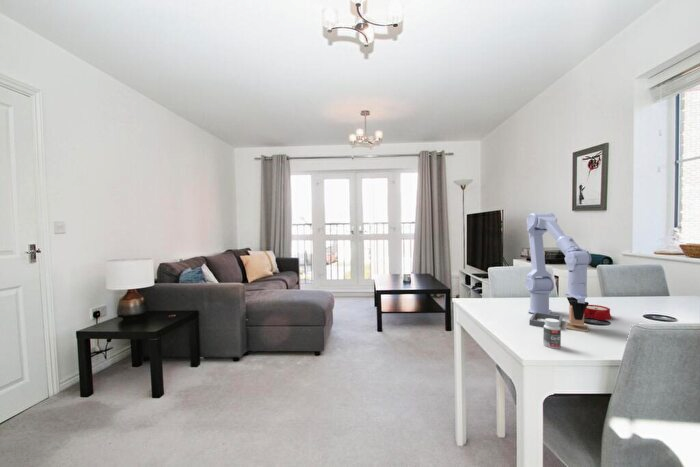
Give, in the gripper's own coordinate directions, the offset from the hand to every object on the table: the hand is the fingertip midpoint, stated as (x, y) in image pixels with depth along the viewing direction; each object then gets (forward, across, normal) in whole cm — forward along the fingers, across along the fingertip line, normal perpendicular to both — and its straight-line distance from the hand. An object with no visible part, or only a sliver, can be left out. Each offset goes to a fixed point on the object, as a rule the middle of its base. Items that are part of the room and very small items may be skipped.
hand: (577, 318), depth 122 cm
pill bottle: (+4, +25, -11) cm, 28 cm away
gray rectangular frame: (+4, -2, -10) cm, 11 cm away
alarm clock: (+4, -19, +10) cm, 22 cm away
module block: (+2, 0, 0) cm, 2 cm away
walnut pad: (+4, 0, 0) cm, 4 cm away
